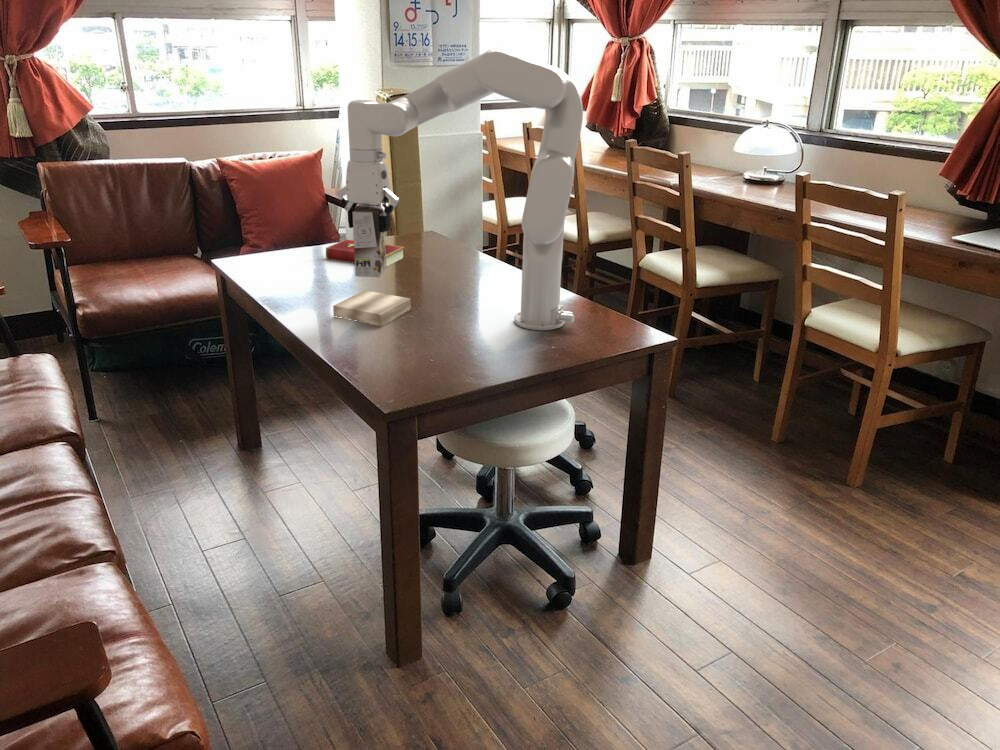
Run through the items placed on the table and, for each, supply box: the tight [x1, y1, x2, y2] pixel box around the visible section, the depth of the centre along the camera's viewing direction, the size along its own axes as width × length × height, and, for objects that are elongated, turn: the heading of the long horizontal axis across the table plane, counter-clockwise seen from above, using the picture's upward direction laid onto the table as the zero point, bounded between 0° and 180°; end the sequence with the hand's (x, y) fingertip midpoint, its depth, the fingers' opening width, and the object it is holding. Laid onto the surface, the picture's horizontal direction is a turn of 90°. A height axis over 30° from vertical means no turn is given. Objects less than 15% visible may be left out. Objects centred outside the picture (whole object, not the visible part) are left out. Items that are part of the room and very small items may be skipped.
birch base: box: [332, 290, 412, 327], centre depth 206 cm, size 14×14×3 cm
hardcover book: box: [325, 238, 406, 268], centre depth 252 cm, size 12×21×4 cm, turn 68°
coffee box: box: [352, 204, 387, 278], centre depth 199 cm, size 9×6×16 cm
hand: (368, 228), depth 198 cm, fingers closed on coffee box, 8 cm apart
